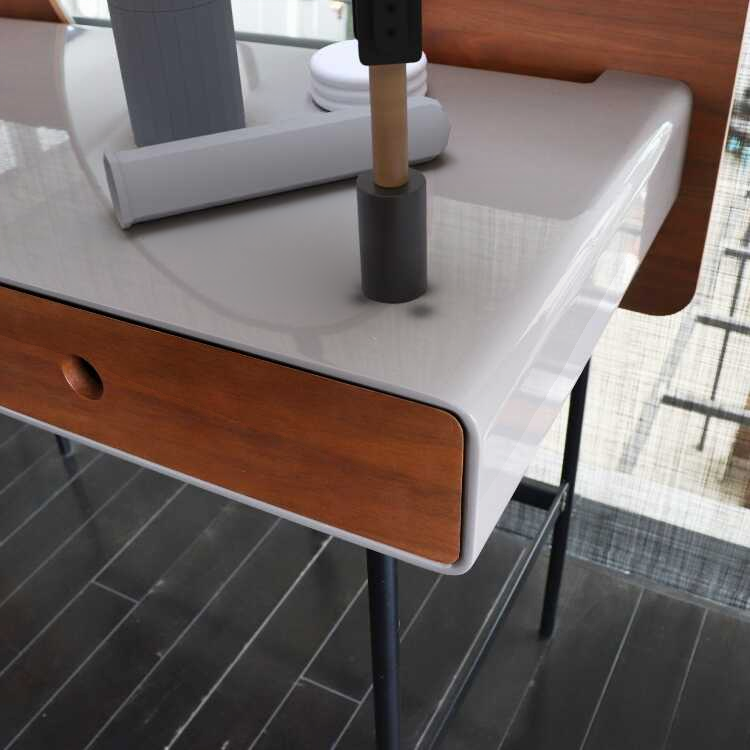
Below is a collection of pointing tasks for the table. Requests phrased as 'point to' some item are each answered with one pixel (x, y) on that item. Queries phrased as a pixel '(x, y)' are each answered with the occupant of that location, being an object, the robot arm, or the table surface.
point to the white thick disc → (352, 77)
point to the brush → (391, 198)
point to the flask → (178, 68)
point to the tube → (259, 160)
